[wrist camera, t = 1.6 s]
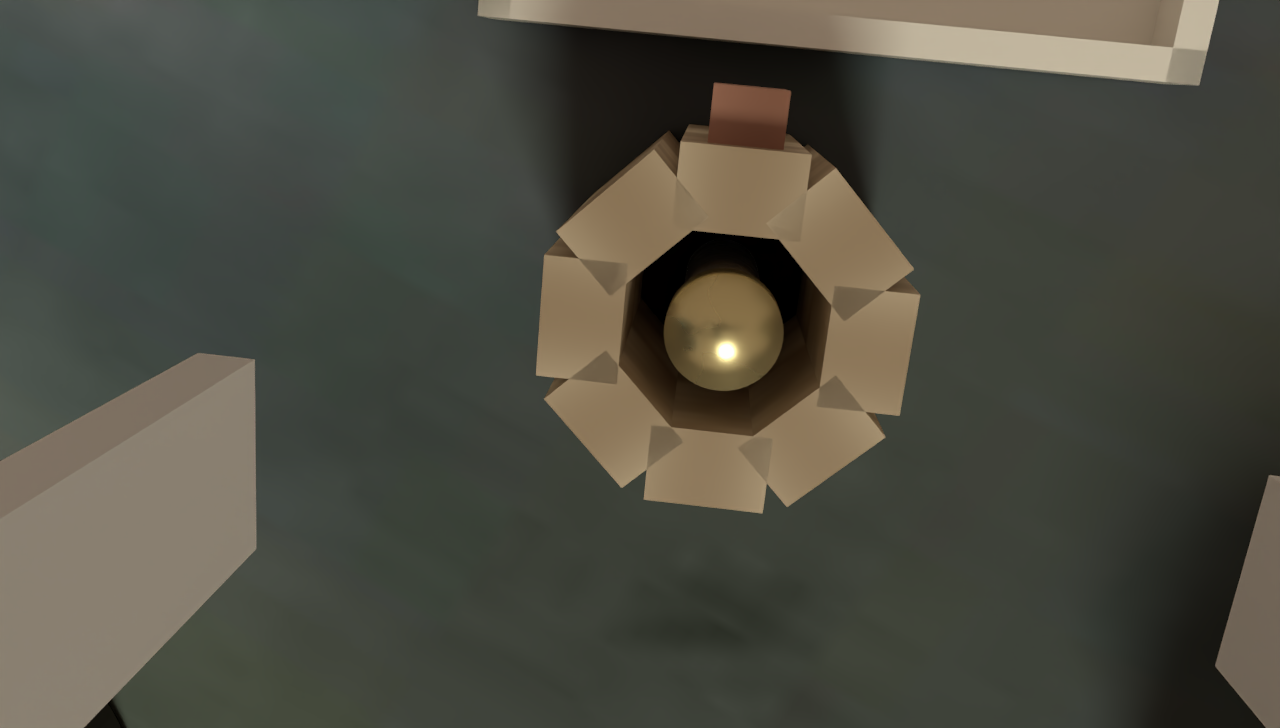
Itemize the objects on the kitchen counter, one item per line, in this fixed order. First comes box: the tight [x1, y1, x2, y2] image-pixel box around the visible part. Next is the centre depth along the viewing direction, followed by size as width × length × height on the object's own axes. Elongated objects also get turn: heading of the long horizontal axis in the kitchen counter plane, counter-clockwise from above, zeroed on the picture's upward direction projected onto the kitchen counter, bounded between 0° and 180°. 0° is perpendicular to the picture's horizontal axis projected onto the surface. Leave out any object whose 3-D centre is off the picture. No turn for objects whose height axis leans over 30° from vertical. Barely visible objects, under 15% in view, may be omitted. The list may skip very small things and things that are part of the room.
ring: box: [536, 82, 920, 513], centre depth 26 cm, size 8×9×7 cm
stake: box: [664, 239, 784, 391], centre depth 26 cm, size 3×3×7 cm
